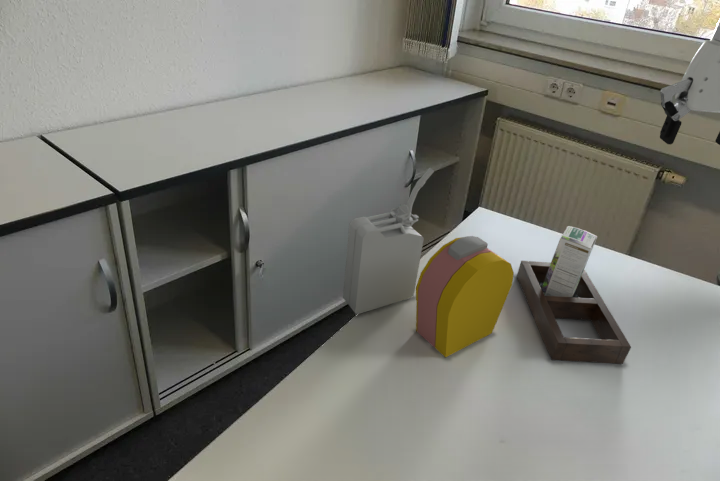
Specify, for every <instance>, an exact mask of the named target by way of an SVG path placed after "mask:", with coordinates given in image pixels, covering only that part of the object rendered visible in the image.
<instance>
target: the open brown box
mask: <svg viewBox="0 0 720 481" xmlns="http://www.w3.org/2000/svg"><path fill="white" fill-rule="evenodd" d="M550 264H551V261H549V262H546V261H533V260H520V263H519V267H518V269H517V273H516V279H517V282H518V284H519V286H520V288H521V291H522V293H523V295H524V298H525V300H526V302H527V305H528V307H529V310H530V312H531V314H532V316H533V319H534V321H535V324H536V326H537V329H538V331H539V334H540V336H541V338H542V340H543V343H544V347H545V349H546V350H547V353H548V355H549V357H550V360H552V361H562V362H563V361H564V362H581V363H597V364H599V363H601V364H618V365H624V363H625V361H626V358H627V356H628V355H629V353H630V350H631V349H632V346H631V344H630V342H629V341H628V339H627V337H626V336H625V334H624V332H623V330H622V329H621V328H620V326H619V324H618V323H617V321H616V320H615V318H614V316H613V315H612V313H611V311H610V309H609V308H608V305H607V304H606V303H605V301H604V300H603V297H602V296H601V294H600V293H599V291H598V289H597V288H596V286H595V285H594V283H593V281H592V280H591V278H590V277H589V276H590V275H589V274H588V272H587V271H586V269H584V271H583V273H582V276H581V278H580V281H579V283H578V285H577V288H576V290H575V294H576V295H577V297H574V296H573V297H559V296H544V294H543V291H542V289H541V288H542V286H541V284H540V283H544V280H545V278H546V275H547V272H548V269H549V267H550ZM557 319H563V320H565V319H566V320H581V321H582V320H583V321H590V322H591V323H592V325H593V327H594V329H595V331H596V332H597V334H598V336H599V338H588V337H587V338H585V337H568V336H564V335H563V331H562V330H561V328H560V326H559V323H558V321H557Z"/></svg>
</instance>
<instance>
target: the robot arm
mask: <svg viewBox="0 0 720 481" xmlns="http://www.w3.org/2000/svg"><path fill="white" fill-rule="evenodd" d="M682 76H683V77H682V78H681V80H680V81H678V82H675V83H673V84H670V85H667V86H665V87H662V88H661V89H660V91H659V93H660V101H661V102H660V105H661V108H662V109H663V111H664V114H665V120H664V122H663V125H662V127H661V129H660V132H659V139H661V141H663V142H664V143H665V144H666V145H670V146H671V145H673V144H674V143H675V139H676V137H677V135H678V133H679V131H680V128H681V126H682V123H683V122H682V121H681V120H680V119H682V118H683V117H685V116H687V114H689V113H690V112H692V111H693V112H694V111H695V112H704V113H715V114H720V18H719V20H718V22H717V23H716V27H715V29H714V31H713V34H712V36H711V39H705V40H704V41H703V43H702V44H701V45H700V47H699V48H698V50H697V51H696V52H695V54H694V56H693V58H692V59H691V61H690V63H689V65H688V66H687V68H686V70H685V71H684V74H683V75H682ZM674 99H675V100H676V101H675V102H673V100H674ZM714 140H715V143H716V144H717V145H719V146H720V131H719V132H718V134H717V136H716V138H715V139H714Z"/></svg>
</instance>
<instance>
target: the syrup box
mask: <svg viewBox="0 0 720 481" xmlns="http://www.w3.org/2000/svg"><path fill="white" fill-rule="evenodd" d="M597 239H598V236H597V235H595V234H594V233H592V232H589V231H587V230H584V229H581V228H579V227H576V226H571V225H568V226H567V225H566V228H565V230H564V231H563V233H562V234H561V236H560V238H559V240H558V243H557V246H556V248H555V251H554V254H553V256H552V259H551V261H550V263H551V264H550V267H549V269H548V272H547V275H546V278H545V280H544V282H542V283H543V284H542V286H541V289H542V291H543V294H544V296H559V297H574V295H575V294H576V292H575V290H576V288H577V285H578V283H579V281H580V278H581V276H582V273H583V271H584V270H586V266H587V263H588V262H589V259H590V256H591V253H592V252H593V249H594V246H595V244H596V241H597Z"/></svg>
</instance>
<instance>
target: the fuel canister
mask: <svg viewBox="0 0 720 481" xmlns="http://www.w3.org/2000/svg"><path fill="white" fill-rule="evenodd" d="M434 173H435V170H434V169H433V168H431V167H428V168H427V170H426V171H425V173H424V174H423V175H422V176H421V177H420V178H419V179H418V180H417V181H416V183H415V185H414V186H413V188H412V190H411V193H410V195H409V198H408V200H407V202H406V204H400V206H397V207H394V208H391V209H390V212H385V213H380V214H376V215H370V216H360V217H355V218H353V219H352V220H350V223H349V224H348V233H347V235H348V236H347V245H346V246H347V247H346V258H345V269H344V280H343V290H342V291H343V292H342V298H343V300H344V301H345V302H346V304H347V305H348V306H349V308H350V309H351V310H352V311H353V312H354V314H355V315H360V314H363V313H366V312H369V311H373V310H376V309H379V308H383V307H386V306H390V305H392V304H396V303H399V302H402V301H405V300H410V299H411V298H413V297H414V296H415V292H416V286H417V279H418V273H419V268H420V262H421V257H422V251H423V245H424V240H425V239H424V236H423V235H421V234H420V233H419V232H418V231H417V230H416V229H414V227H412V226H413V225H414V224H415V223H416V222H419V218H420V217H419V215H418V214H412V210H413V205H414V202H415V201H416V199H417V196H418V193H419V191H420V189H421V188H423V187H424V185H425V184H426V183H427V181H428V179H430V177H431V176H432V175H433V174H434ZM394 216H395V217H394Z"/></svg>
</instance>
